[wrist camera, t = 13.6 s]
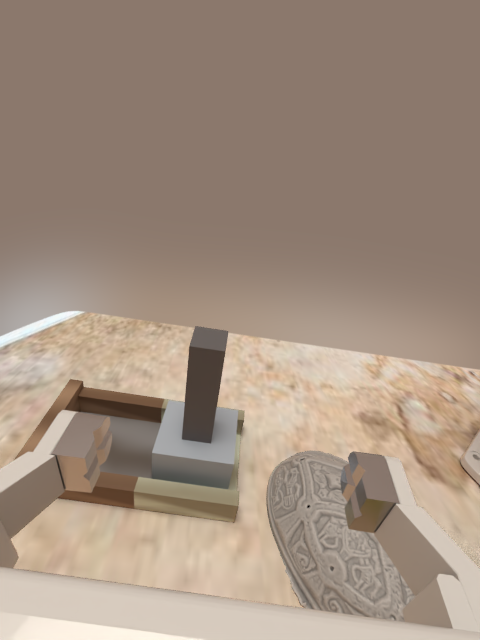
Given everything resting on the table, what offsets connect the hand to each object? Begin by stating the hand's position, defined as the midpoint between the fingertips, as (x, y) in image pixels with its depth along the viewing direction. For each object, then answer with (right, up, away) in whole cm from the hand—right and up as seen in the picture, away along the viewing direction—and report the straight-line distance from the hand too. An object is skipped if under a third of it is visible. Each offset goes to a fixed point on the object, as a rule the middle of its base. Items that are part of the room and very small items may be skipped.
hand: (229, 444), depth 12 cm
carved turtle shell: (+12, -19, +23) cm, 32 cm away
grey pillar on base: (-5, -12, +28) cm, 31 cm away
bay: (-10, -11, +28) cm, 31 cm away
